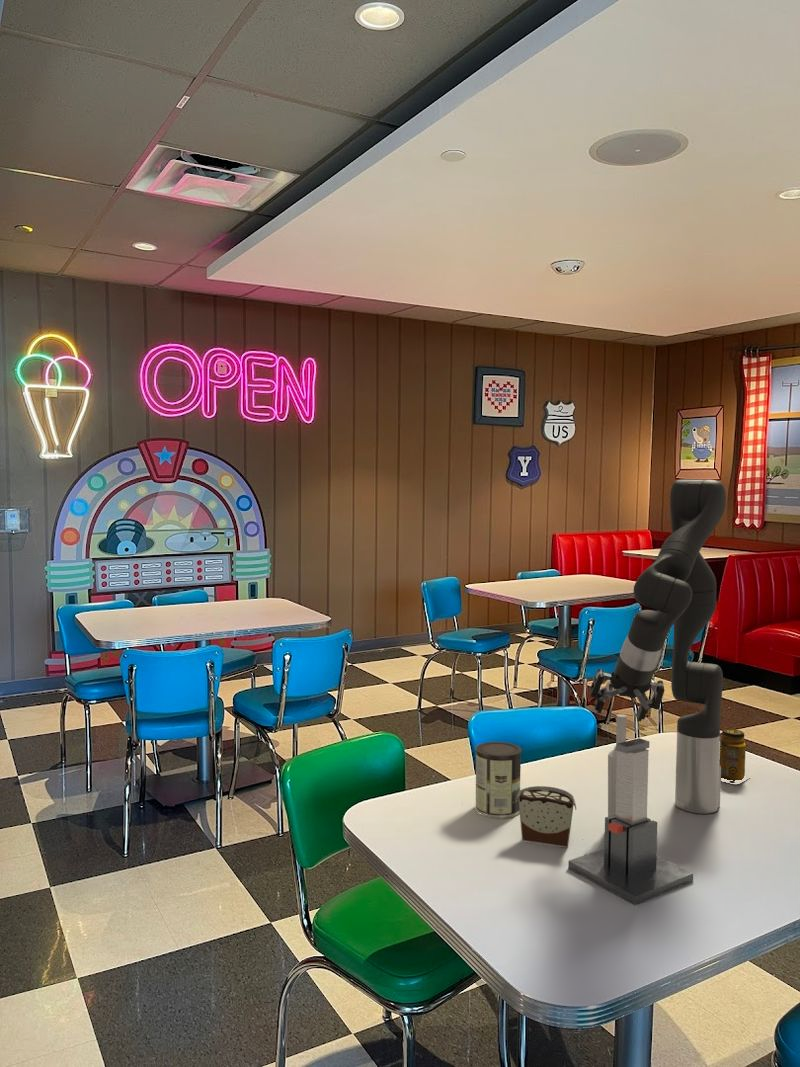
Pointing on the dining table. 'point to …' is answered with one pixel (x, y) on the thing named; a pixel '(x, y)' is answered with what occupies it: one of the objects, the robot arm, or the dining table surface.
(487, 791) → the coffee can
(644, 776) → the post
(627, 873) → the stand
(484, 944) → the dining table surface
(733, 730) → the condiment
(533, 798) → the food container
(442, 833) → the dining table surface
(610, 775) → the bottle
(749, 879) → the dining table surface
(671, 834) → the dining table surface
